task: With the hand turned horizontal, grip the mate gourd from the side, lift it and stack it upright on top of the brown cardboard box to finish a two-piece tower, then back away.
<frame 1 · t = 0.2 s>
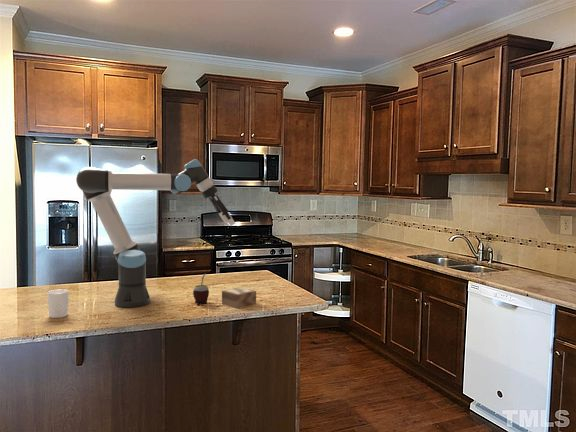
hand: (230, 223, 235), 34 cm above the countertop, tool tilted 35°, fingers open, 13 cm apart
mate gourd: (201, 304, 211), on the countertop
brown cardboard box: (238, 304, 212), on the countertop
white cup: (58, 316, 189), on the countertop
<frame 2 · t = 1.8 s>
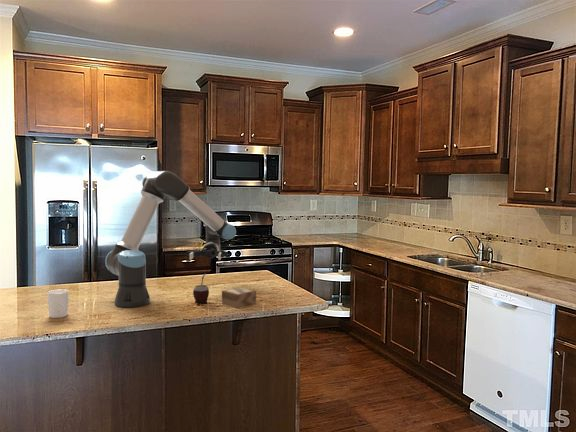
hand: (204, 257, 219), 20 cm above the countertop, tool horizontal, fingers open, 13 cm apart
nothing on the countertop moved.
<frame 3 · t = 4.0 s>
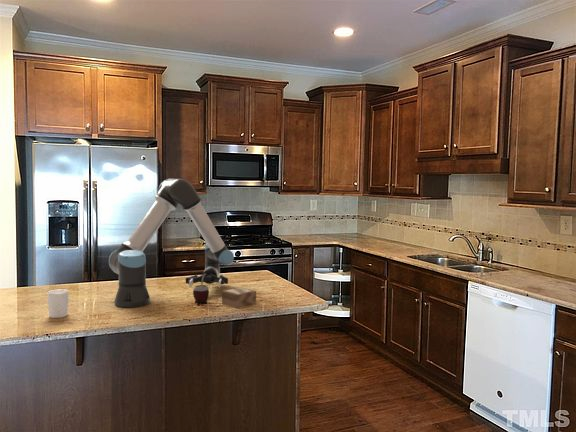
hand: (204, 284, 215), 8 cm above the countertop, tool horizontal, fingers open, 13 cm apart
nothing on the countertop moved.
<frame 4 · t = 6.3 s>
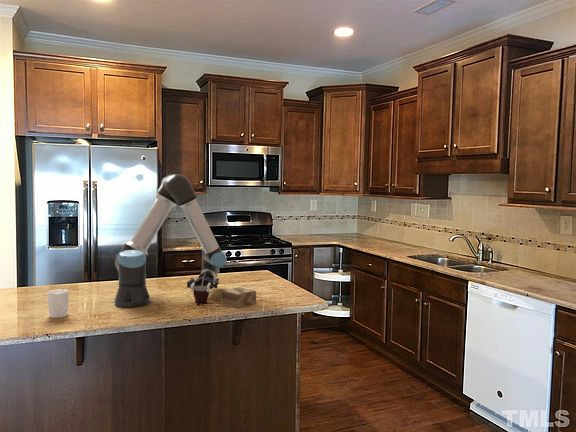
hand: (199, 288, 205), 8 cm above the countertop, tool horizontal, fingers closed on mate gourd, 6 cm apart
mate gourd: (201, 304, 211), on the countertop, touching gripper
everything else where it was.
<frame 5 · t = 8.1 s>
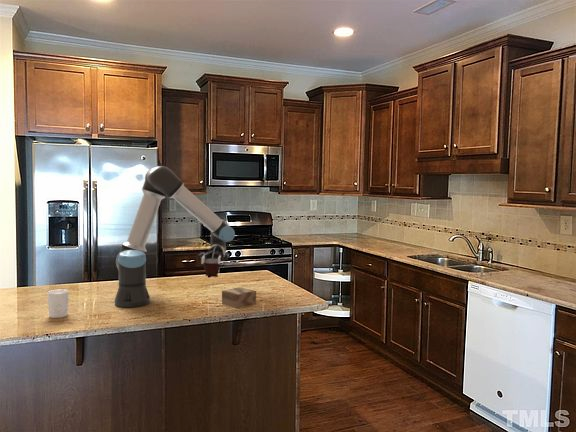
hand: (210, 260, 205), 21 cm above the countertop, tool horizontal, fingers closed on mate gourd, 6 cm apart
mate gourd: (212, 276, 211), point 12 cm above the countertop, touching gripper
everything else where it was.
when the fingers open (15 cm above the countertop, at t = 10.2 s): mate gourd drops 1 cm, resting on brown cardboard box.
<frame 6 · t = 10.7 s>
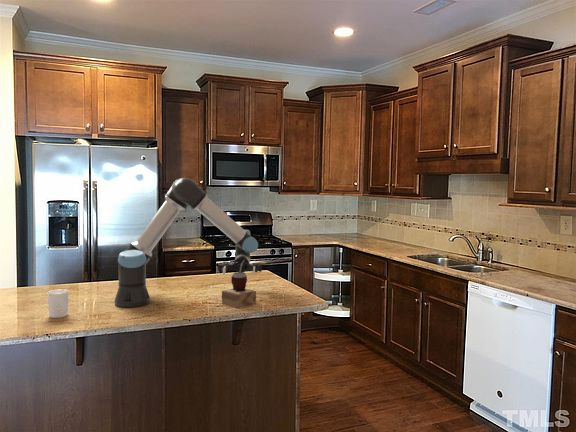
hand: (238, 271, 207), 15 cm above the countertop, tool horizontal, fingers open, 13 cm apart
mate gourd: (239, 291, 211), point 6 cm above the countertop, touching brown cardboard box
everything else where it was.
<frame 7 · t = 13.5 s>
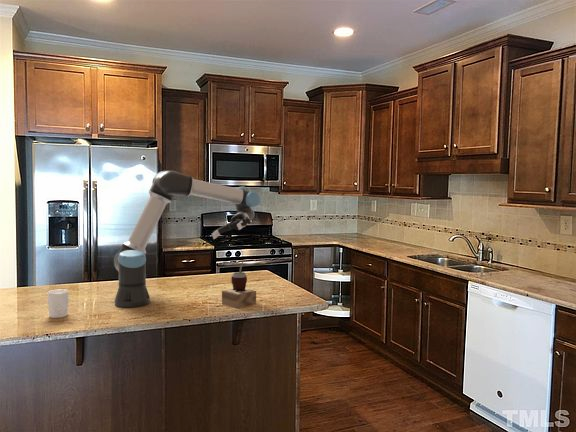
hand: (225, 231, 217), 32 cm above the countertop, tool horizontal, fingers open, 13 cm apart
nothing on the countertop moved.
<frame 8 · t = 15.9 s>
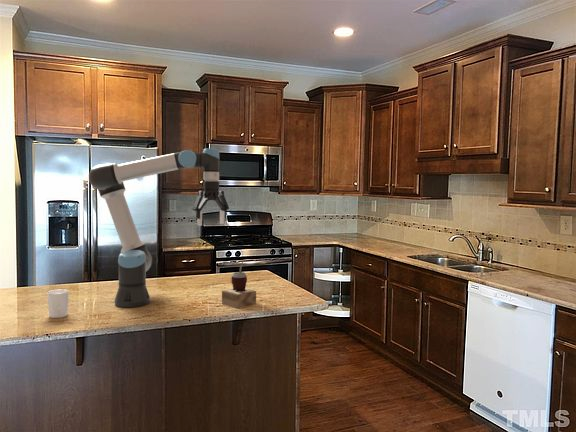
hand: (211, 224, 225), 35 cm above the countertop, tool pointing down, fingers open, 13 cm apart
nothing on the countertop moved.
at the end: mate gourd 0.3 cm from the brown cardboard box (horizontally); mate gourd point 6.0 cm above the countertop; mate gourd tilted 0° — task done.
